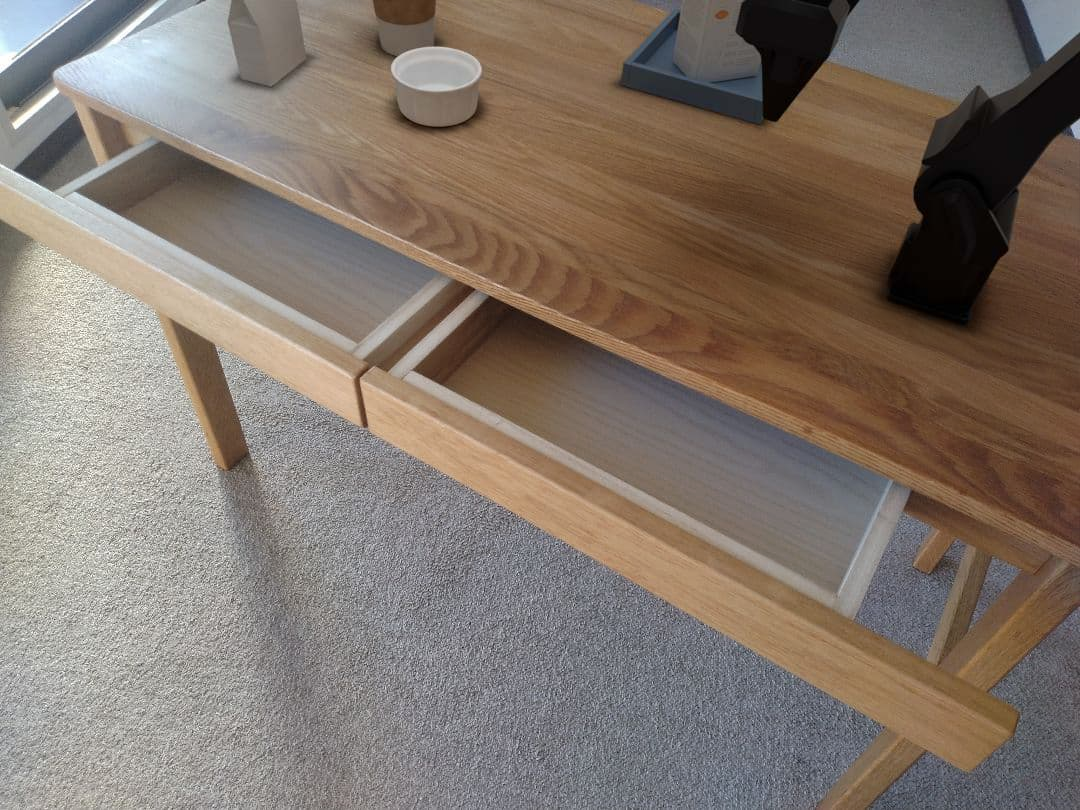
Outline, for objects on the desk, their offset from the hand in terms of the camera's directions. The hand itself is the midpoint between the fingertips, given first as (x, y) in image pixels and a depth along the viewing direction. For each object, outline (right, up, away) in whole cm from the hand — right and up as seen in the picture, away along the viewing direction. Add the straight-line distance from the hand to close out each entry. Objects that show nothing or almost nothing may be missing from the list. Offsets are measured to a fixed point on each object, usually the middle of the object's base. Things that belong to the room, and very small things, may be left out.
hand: (786, 92), depth 64 cm
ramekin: (-29, +6, +21) cm, 37 cm away
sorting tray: (0, +13, +29) cm, 31 cm away
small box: (0, +13, +28) cm, 31 cm away
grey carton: (-47, +12, +25) cm, 55 cm away
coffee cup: (-34, +16, +30) cm, 48 cm away
